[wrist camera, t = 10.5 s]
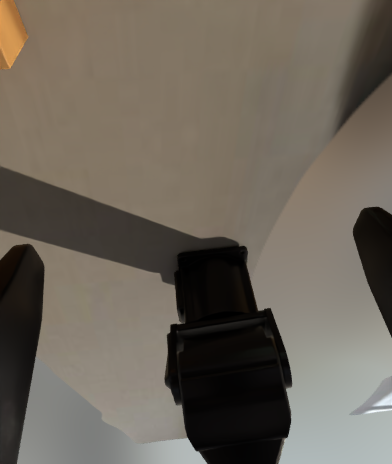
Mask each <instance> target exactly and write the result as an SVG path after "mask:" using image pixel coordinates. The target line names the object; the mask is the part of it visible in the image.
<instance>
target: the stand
mask: <svg viewBox="0 0 392 464" xmlns="http://www.w3.org/2000/svg"><path fill="white" fill-rule="evenodd" d="M27 38H28V36H27V33H26V31H25V28H24V25H23V23H22V20H21V18H20V15H19V13H18V10H17V8H16V5H15V3H14V0H0V69H10V68H11V66H12V65H13V63H14V61H15V59H16V57H17V56H18V54H19V52H20V50H21V49H22V47H23V45H24V43H25V41H26V40H27Z"/></svg>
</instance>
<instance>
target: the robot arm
mask: <svg viewBox="0 0 392 464" xmlns="http://www.w3.org/2000/svg"><path fill="white" fill-rule="evenodd" d="M353 236H354V240H355V243H356V246H357V250H358V253H359V256H360V259H361V262H362V266H363V269H364V272H365V276H366V278H367V282H368V284H369V286H370V289H371V291H372V294H373V296H374V298H375V301H376V303H377V305H378V307H379V310H380V312H381V314H382V316H383V319H384V321H385V323H386V325H387V328H388V330H389V332H390V335H391V337H392V215H391V214H390V213H388V212H387V211H385V210H383V209H382V208H380V207H369V208H364V209H363V210H362V211H361V212H360V215H359V217H358V219H357V221H356V223H355V225H354V228H353ZM247 255H248V251H247V248H246V247H245V246H240V247H232V248H223V249H215V250H206V251H198V252H189V253H181V254H179V255H178V256H177V261H178V267H179V270H177V271H175V273H174V277H175V290H176V302H177V311H178V316H179V321H180V322H181V323H183V324H171V325H170V333H169V334H167V343H168V356H167V364H166V371H165V385H166V386H167V387H168V388H170V389H171V392H172V395H173V397H174V401H175V403H176V405H177V406H178V405H182V408H183V416H184V424H185V430H186V433H187V437H188V439H189V440H190V442H191V444H192V446H193V447H194V449H195V450H196V451H199V452H200V454H201V455H202V457H203V458H204V459H205V461H206V462H207V464H278V463H279V460H280V456H281V452H282V449H283V445H284V441H285V438H287V437H288V434H289V430H290V425H291V410H290V406H289V401H288V396H287V392H286V389H287V388H291V387H292V377H291V370H290V365H289V362H288V357H287V354H286V350H285V347H284V345H283V341H282V339H281V336H280V333H279V330H278V328H277V325H276V322H275V319H274V316H273V314H272V311H271V308H267V309H264V310H262V311H258V309H257V305H256V301H255V297H254V293H253V289H252V285H251V281H250V277H249V273H248V269H247V265H246V264H247ZM43 289H44V264H43V261H42V260H41V258H40V257H39V255H38V253H37V252H36V250H35V249H34V247H33V246H32V245H30V244H23V245H16V246H13V247H12V248H11V249H10V250H9V251H8V252H7V253H6V254H5V256H4V257H3V258H2V259H1V260H0V464H17V460H18V454H19V448H20V443H21V436H22V431H23V425H24V420H25V414H26V408H27V403H28V397H29V391H30V386H31V380H32V374H33V368H34V363H35V357H36V351H37V346H38V340H39V334H40V329H41V322H42V309H43Z"/></svg>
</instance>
